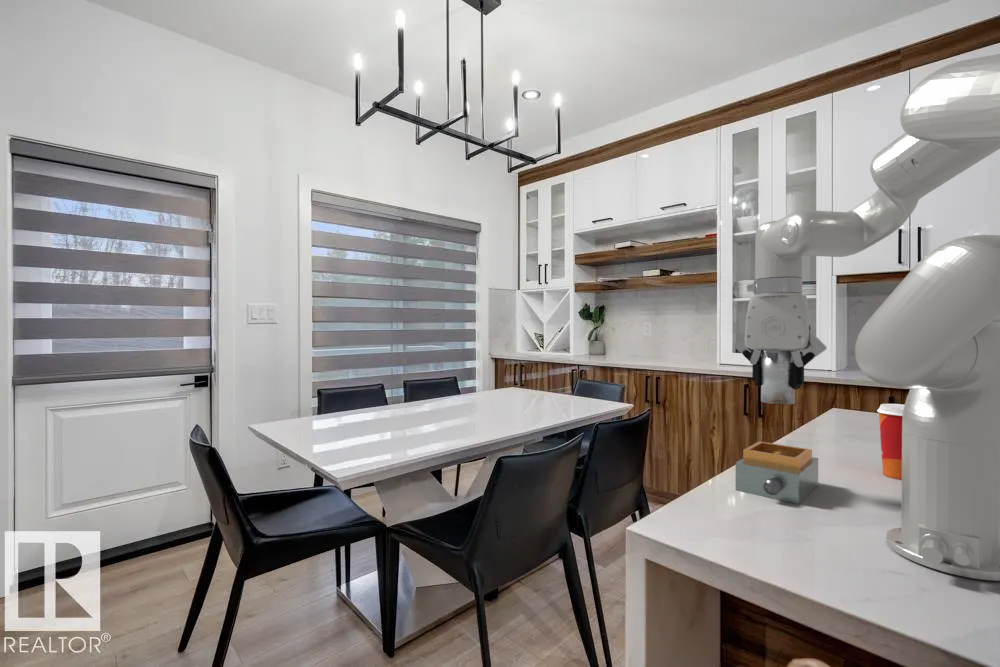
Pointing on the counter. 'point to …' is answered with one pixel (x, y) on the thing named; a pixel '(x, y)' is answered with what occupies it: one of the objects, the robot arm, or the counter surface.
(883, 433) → the paper cup
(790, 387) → the spout can
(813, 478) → the box
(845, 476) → the counter surface
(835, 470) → the counter surface
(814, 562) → the counter surface
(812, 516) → the counter surface
